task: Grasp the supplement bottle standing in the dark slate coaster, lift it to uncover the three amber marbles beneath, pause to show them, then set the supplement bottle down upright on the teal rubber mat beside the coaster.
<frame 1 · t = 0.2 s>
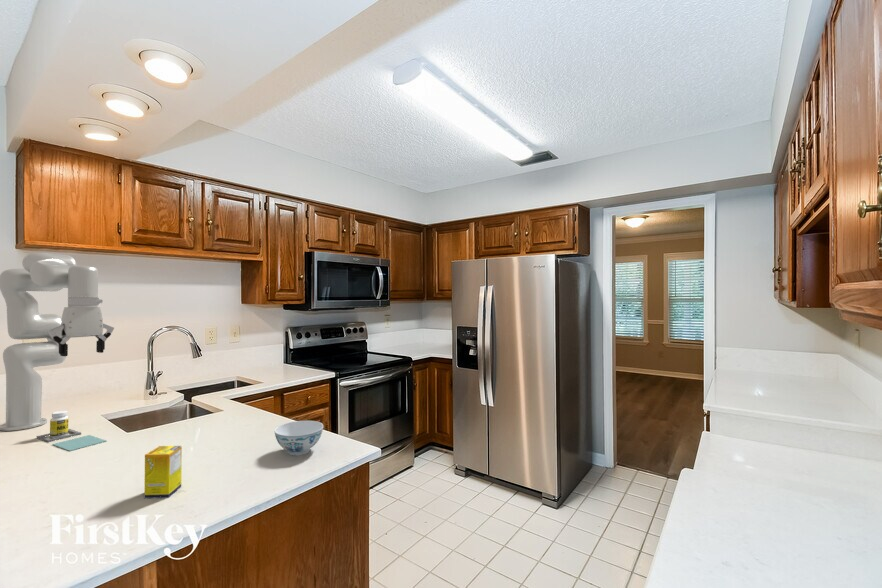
hand: (82, 354, 134), 31 cm above the table, tool pointing down, fingers open, 9 cm apart
supplement bottle: (59, 436, 143), resting in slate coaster
chinaware: (299, 452, 131), on the table
teal mat: (79, 443, 137), on the table
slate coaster: (59, 436, 143), on the table
supplement box: (163, 493, 103), on the table
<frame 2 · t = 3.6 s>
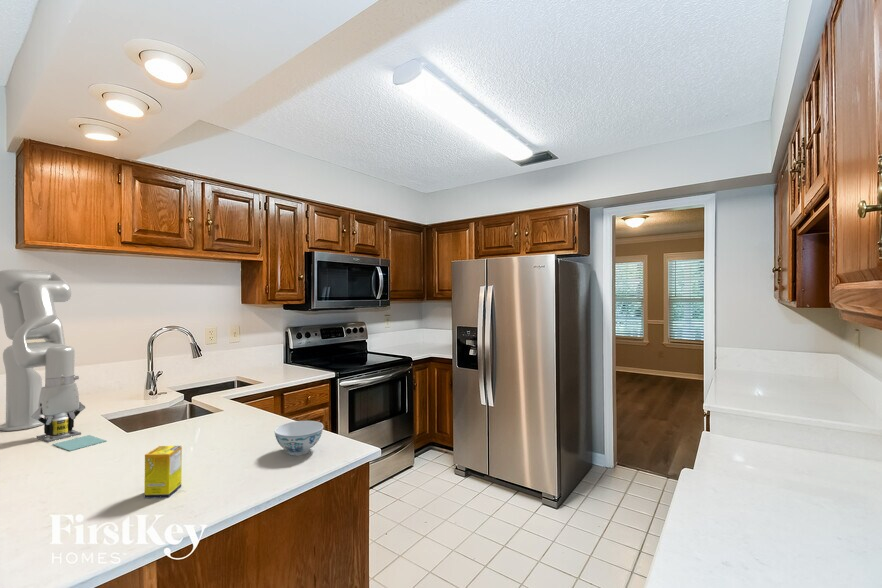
hand: (59, 432, 143), 1 cm above the table, tool pointing down, fingers closed on supplement bottle, 4 cm apart
supplement bottle: (59, 436, 143), resting in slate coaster, touching gripper
everything else where it was.
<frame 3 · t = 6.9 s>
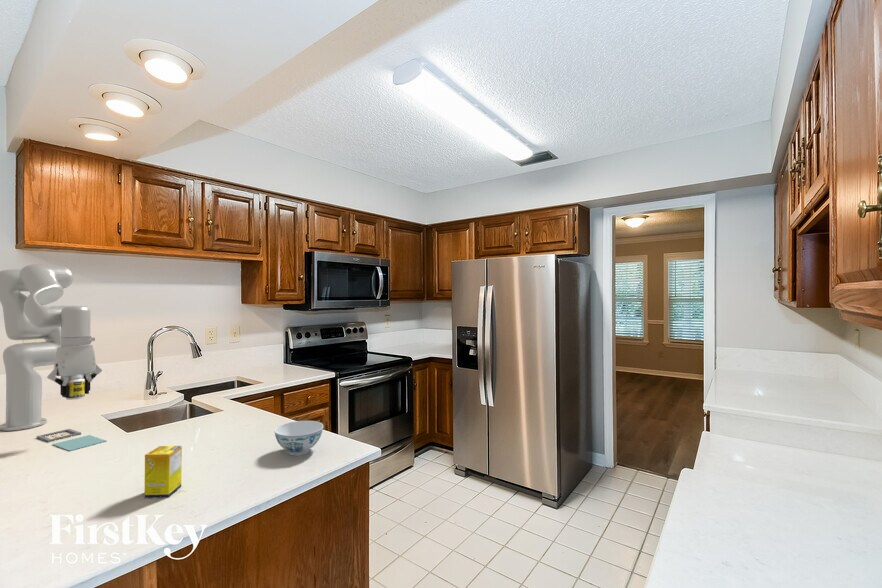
hand: (75, 394, 138), 16 cm above the table, tool pointing down, fingers closed on supplement bottle, 4 cm apart
supplement bottle: (75, 398, 138), point 15 cm above the table, touching gripper
everything else where it was.
when the fingers open (3 cm above the table, at t = 10.3 s): supplement bottle drops 1 cm, resting on teal mat.
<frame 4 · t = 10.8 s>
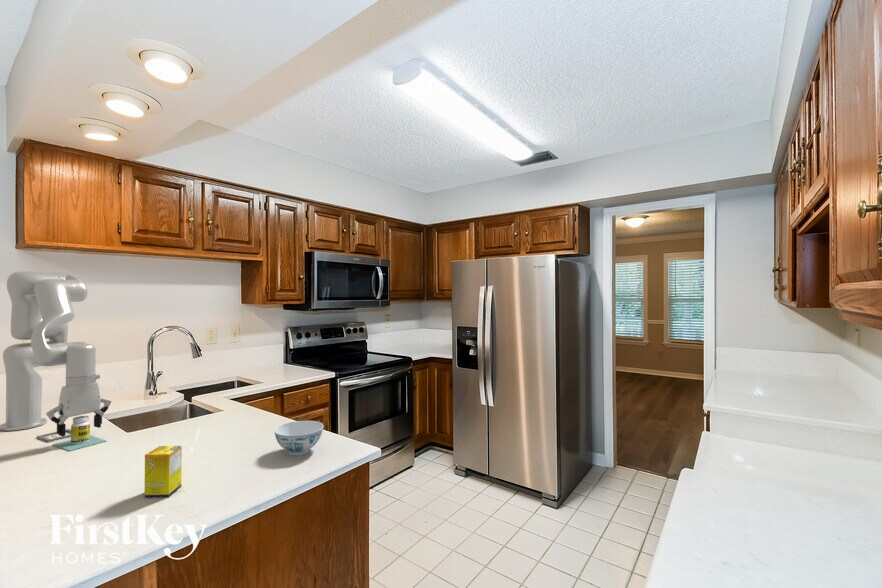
hand: (80, 431, 137), 4 cm above the table, tool pointing down, fingers open, 9 cm apart
supplement bottle: (80, 442, 137), resting on teal mat
everything else where it was.
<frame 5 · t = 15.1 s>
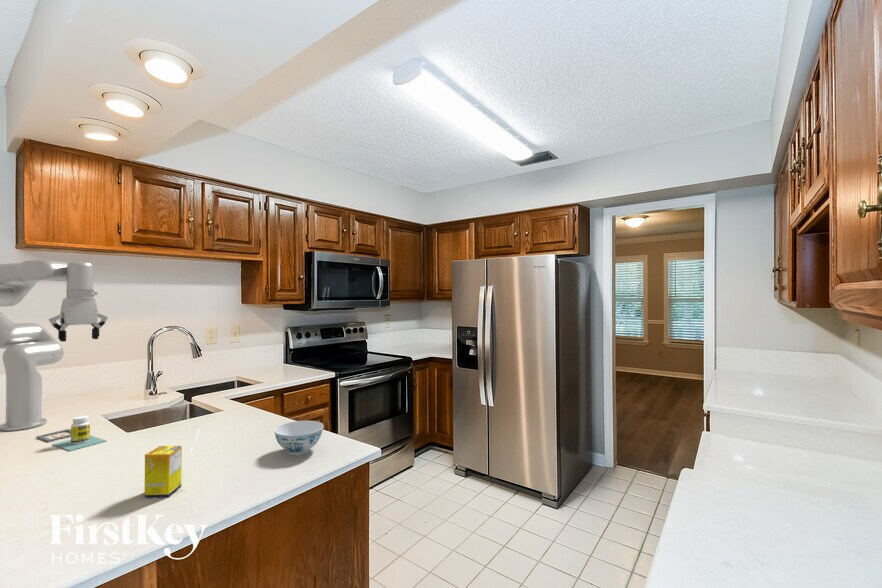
hand: (79, 340, 152), 33 cm above the table, tool pointing down, fingers open, 9 cm apart
nothing on the table moved.
at the end: supplement bottle inside the target area on the teal mat (0.3 cm from its centre), point 0.1 cm above the teal mat's base; supplement bottle tilted 0°; the gripper is holding nothing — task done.
